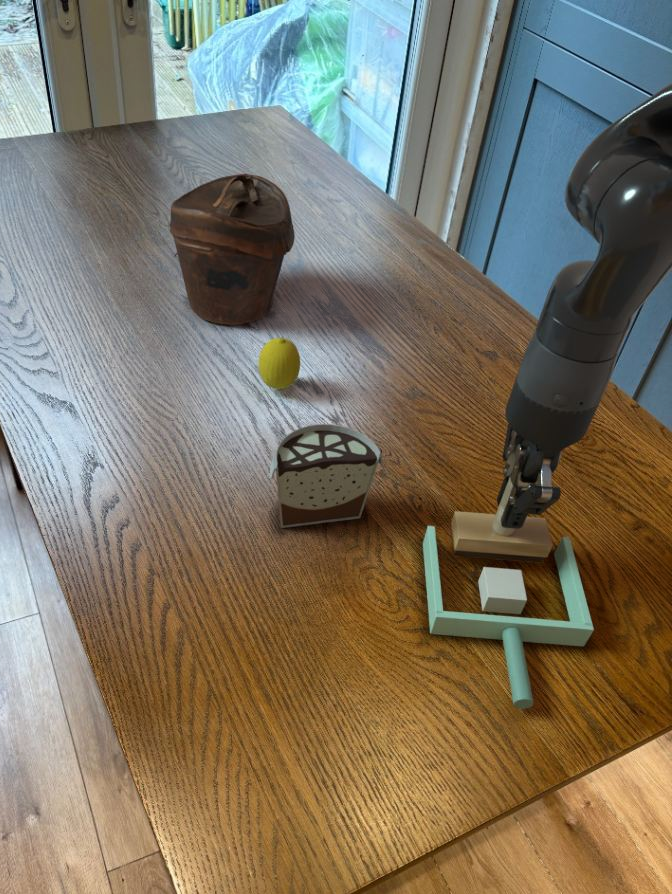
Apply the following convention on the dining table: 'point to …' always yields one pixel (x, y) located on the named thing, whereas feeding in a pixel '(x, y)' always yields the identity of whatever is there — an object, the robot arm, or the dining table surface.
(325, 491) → the cupcake
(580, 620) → the goalpost shaped holder
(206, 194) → the case
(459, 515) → the brush
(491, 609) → the white square block
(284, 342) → the lemon
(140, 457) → the dining table surface
